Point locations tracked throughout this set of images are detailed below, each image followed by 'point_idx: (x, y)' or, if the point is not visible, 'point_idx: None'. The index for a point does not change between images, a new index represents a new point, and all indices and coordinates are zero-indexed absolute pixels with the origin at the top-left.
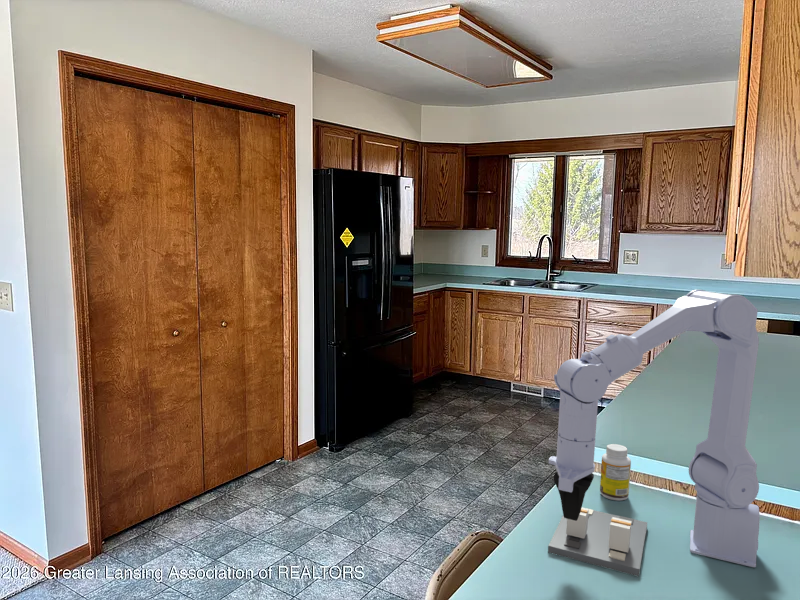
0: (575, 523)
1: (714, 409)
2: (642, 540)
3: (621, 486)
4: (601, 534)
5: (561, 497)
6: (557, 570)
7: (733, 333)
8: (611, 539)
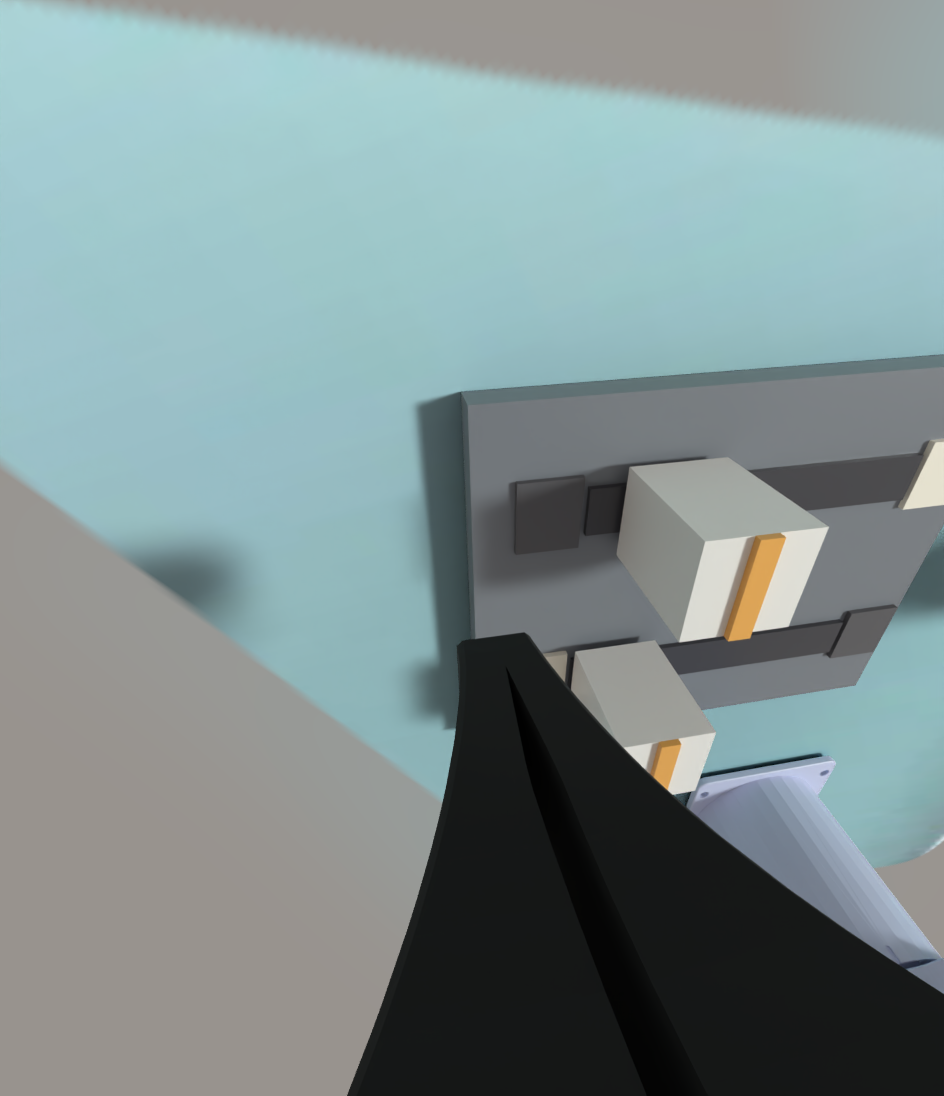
0: (658, 553)
1: None
2: (703, 705)
3: None
4: None
5: (439, 825)
6: (313, 488)
7: None
8: (588, 692)
